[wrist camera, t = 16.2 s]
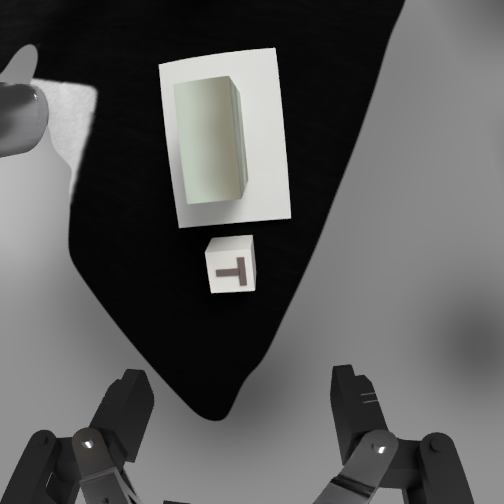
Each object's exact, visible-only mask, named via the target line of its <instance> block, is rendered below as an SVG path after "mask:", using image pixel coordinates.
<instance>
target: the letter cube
mask: <svg viewBox="0 0 504 504" xmlns="http://www.w3.org/2000/svg"><path fill="white" fill-rule="evenodd" d="M205 256H206V263H207V269H208V276H209V282H210V288H211V293H222V292H240V291H255V281H256V266H255V256H254V245H253V235H245V236H232V237H219V238H212V239H211V241H210V243H209V245H208V247H207V249H206V251H205Z"/></svg>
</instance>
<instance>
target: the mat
mask: <svg viewBox="0 0 504 504" xmlns="http://www.w3.org/2000/svg"><path fill="white" fill-rule="evenodd" d="M159 71H160V82H161V93H162V103H163V113H164V122H165V131H166V139H167V147H168V155H169V162H170V170H171V177H172V184H173V191H174V197H175V204H176V210H177V217H178V223H179V228H184V227H195V226H205V225H216V224H227V223H239V222H250V221H263V220H275V219H288V218H291V211H290V197H289V184H288V171H287V158H286V147H285V136H284V125H283V114H282V104H281V95H280V85H279V76H278V67H277V58H276V50H275V48H270V49H257V50H247V51H237V52H229V53H221V54H214V55H208V56H202V57H196V58H190V59H185V60H179V61H174V62H169V63H165V64H160V65H159ZM222 76H229V77H230V78H231V80H232V81H233V83H234V84H235V86H236V87H237V89H238V91H239V92H240V98H241V108H242V118H243V129H244V139H245V149H246V159H247V169H248V182H247V185H246V188H245V190H244V193H243V196H242V199H236V200H225V201H215V202H205V203H195V204H187V199H186V192H185V184H184V177H183V169H182V161H181V153H180V145H179V136H178V127H177V118H176V108H175V98H174V87H173V84H177V83H183V82H188V81H194V80H201V79H207V78H214V77H222Z"/></svg>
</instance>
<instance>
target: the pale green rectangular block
mask: <svg viewBox="0 0 504 504" xmlns="http://www.w3.org/2000/svg"><path fill="white" fill-rule="evenodd" d="M173 87H174V98H175V108H176V118H177V127H178V136H179V145H180V153H181V161H182V169H183V177H184V184H185V192H186V199H187V204H195V203H205V202H215V201H225V200H236V199H242V196H243V193H244V190H245V188H246V185H247V182H248V169H247V159H246V149H245V139H244V129H243V118H242V108H241V98H240V92H239V91H238V89H237V87H236V86H235V84H234V83H233V81H232V80H231V78H230V77H229V76H222V77H214V78H207V79H201V80H194V81H188V82H183V83H177V84H173Z"/></svg>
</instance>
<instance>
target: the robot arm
mask: <svg viewBox="0 0 504 504" xmlns="http://www.w3.org/2000/svg"><path fill="white" fill-rule="evenodd" d="M47 119H48V105H47V100H46V98H45V95H44V93H43V92H42V90H41V89H39V88H38V87H37V86H34V85H28V84H17V83H5V82H0V158H1V157H6V156H10V155H15V154H20V153H25V152H28V151H30V150H31V149H33V148H34V147H35V146H36V145H37V144H38V142H39V140H40V139H41V138H42V136H43V134H44V131H45V128H46V125H47ZM330 400H331V407H332V412H333V417H334V422H335V427H336V432H337V437H338V443H339V448H340V454H341V459H342V464H343V466H344V467H343V469H342V470H341V472H340V473H339V474H338V475H337V476H336V477H334V478H333V479H332V480H331V481H330V482H329V483H328V484H327V486H326V487H325V488H324V490H323V491H322V493H321V494H320V495H319V496H318V497H317V499H316V500H315V501H314V503H313V504H369V502H370V501H371V499H372V497H373V496H374V494H375V493H376V491H377V489H378V487H382V488H398V489H401V490H402V494H403V500H404V504H474V501H473V498H472V494H471V491H470V488H469V485H468V482H467V479H466V476H465V473H464V470H463V467H462V464H461V461H460V459H459V456H458V453H457V450H456V448H455V445H454V442H453V441H452V439H451V438H450V437H449V436H447V435H446V434H443V433H438V432H435V433H431V434H428V435H427V436H425V437H424V438H423V439H422V441H414V440H403V439H399V438H397V437H396V436H395V435H394V434H393V433H391V432H390V431H389V430H388V428H387V425H386V422H385V419H384V416H383V413H382V410H381V407H380V405H379V402H378V399H377V396H376V394H375V391H374V388H373V385H372V383H371V381H370V380H369V379H367V377H366V376H365V375H359V376H355V374H354V371H353V368H352V366H351V365H340V366H333V370H332V380H331V390H330ZM101 402H102V403H100V405H99V407H98V409H97V411H96V413H95V415H94V417H93V419H92V421H91V423H90V425H89V427H88V428H83V429H80V430H79V431H77V432H76V433H75V434H74V436H73V437H68V438H67V437H66V438H56V436H55V435H54V434H53V433H52V432H51V431H49V430H40V431H38V432H36V433H34V434H33V435H32V437H31V438H30V440H29V442H28V444H27V446H26V448H25V450H24V452H23V454H22V456H21V458H20V460H19V462H18V464H17V466H16V468H15V471H14V473H13V475H12V477H11V479H10V481H9V484H8V486H7V488H6V490H5V493H4V495H3V497H2V499H1V502H0V504H75V500H76V498H77V495H78V492H79V488H80V487H81V489H82V492H83V495H84V498H85V501H86V504H143V503H142V502H141V500H140V499H139V497H138V495H137V493H136V491H135V489H134V487H133V485H132V483H131V481H130V479H129V477H128V475H127V473H126V471H125V469H124V467H123V466H124V464H125V461H127V462H133V463H134V462H135V459H136V456H137V453H138V450H139V447H140V444H141V441H142V439H143V435H144V433H145V430H146V427H147V424H148V421H149V418H150V415H151V412H152V409H153V406H154V394H153V391H152V389H151V386H150V384H149V381H148V378H147V376H146V373H145V371H143V370H135V369H127V370H126V371H125V373H124V375H123V377H122V379H121V380H119V379H117V380H116V381H115V382H114V383H112V385H110V386H109V388H108V390H107V392H106V394H105V397H103V399H102V401H101ZM51 472H52V474H51ZM50 475H51V477H50ZM49 477H50V479H49ZM48 479H49V482H48ZM47 482H48V484H47ZM46 484H47V487H46ZM163 504H189V503H179V502H172V501H165V500H164V502H163Z"/></svg>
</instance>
